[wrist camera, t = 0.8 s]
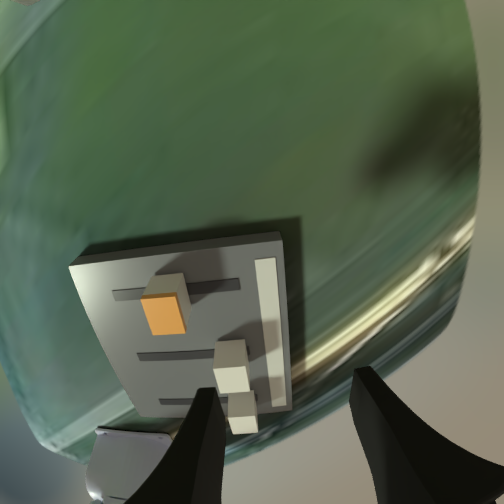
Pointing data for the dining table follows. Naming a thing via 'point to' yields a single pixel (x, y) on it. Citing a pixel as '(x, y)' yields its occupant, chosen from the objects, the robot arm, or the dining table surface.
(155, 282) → the switch
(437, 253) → the dining table surface
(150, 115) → the dining table surface
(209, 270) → the panel
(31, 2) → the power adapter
